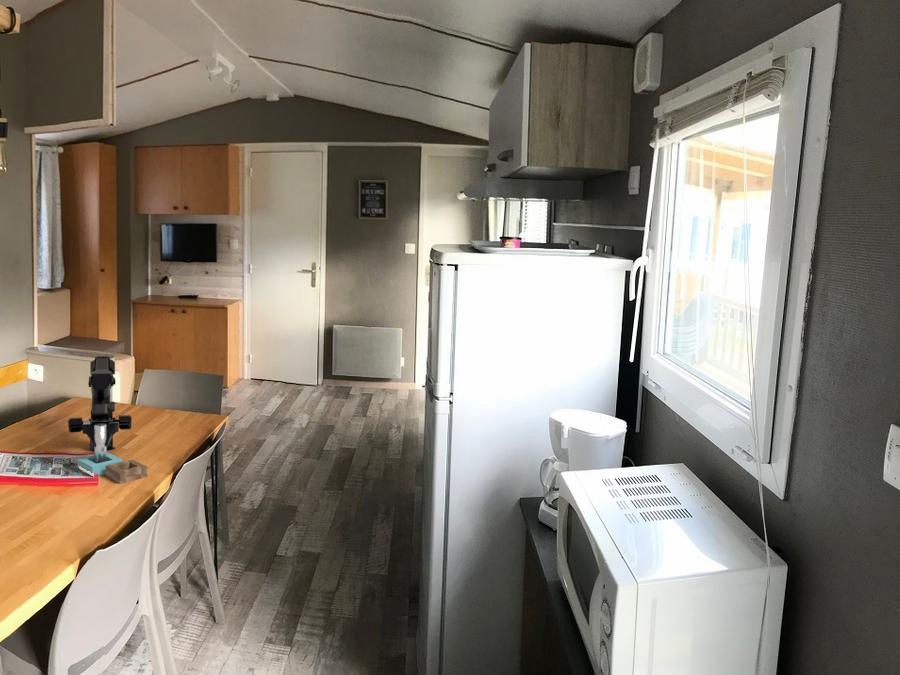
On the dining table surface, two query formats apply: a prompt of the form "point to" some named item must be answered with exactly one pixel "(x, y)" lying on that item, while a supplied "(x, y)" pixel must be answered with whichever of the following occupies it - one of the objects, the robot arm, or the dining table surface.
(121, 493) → the dining table surface
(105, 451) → the steel rod
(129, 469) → the brown square socket block
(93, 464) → the seat block
